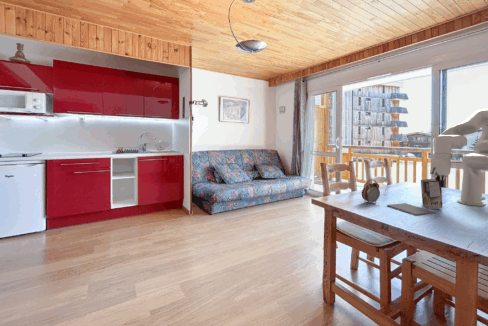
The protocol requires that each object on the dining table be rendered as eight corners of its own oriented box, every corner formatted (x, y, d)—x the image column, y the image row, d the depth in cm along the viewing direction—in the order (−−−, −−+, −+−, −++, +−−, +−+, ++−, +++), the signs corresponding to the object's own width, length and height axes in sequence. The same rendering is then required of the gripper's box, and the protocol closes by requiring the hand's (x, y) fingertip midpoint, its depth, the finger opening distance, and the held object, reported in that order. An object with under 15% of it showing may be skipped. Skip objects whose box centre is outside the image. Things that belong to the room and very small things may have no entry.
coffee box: (443, 208, 134) (441, 181, 132) (430, 209, 135) (428, 182, 134) (433, 204, 143) (432, 178, 141) (421, 204, 144) (420, 179, 143)
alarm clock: (366, 204, 145) (367, 180, 144) (360, 202, 150) (361, 179, 148) (380, 203, 148) (381, 180, 147) (374, 201, 153) (375, 178, 151)
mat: (405, 204, 145) (405, 203, 145) (435, 213, 128) (435, 212, 128) (387, 206, 142) (387, 204, 141) (415, 215, 124) (415, 214, 124)
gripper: (444, 155, 142) (441, 185, 144) (426, 155, 138) (423, 185, 140) (458, 156, 135) (455, 187, 137) (439, 156, 131) (436, 188, 133)
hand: (439, 186), depth 139 cm, fingers closed
